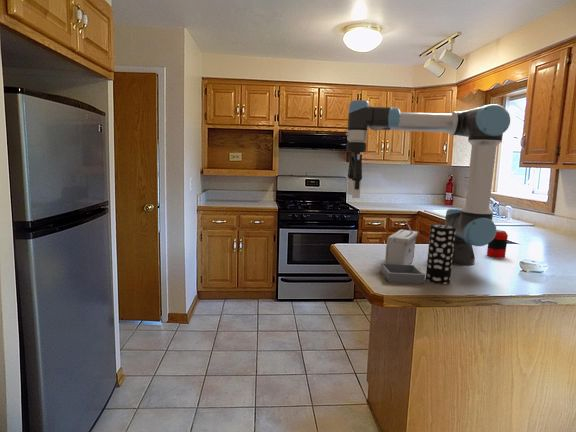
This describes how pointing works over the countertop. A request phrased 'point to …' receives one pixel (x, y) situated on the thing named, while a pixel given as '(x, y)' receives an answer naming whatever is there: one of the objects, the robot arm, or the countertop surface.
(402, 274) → the tray
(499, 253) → the soda can
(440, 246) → the spotted tube
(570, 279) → the countertop surface
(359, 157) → the robot arm
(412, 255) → the stereo radio cassette player
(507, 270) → the countertop surface
